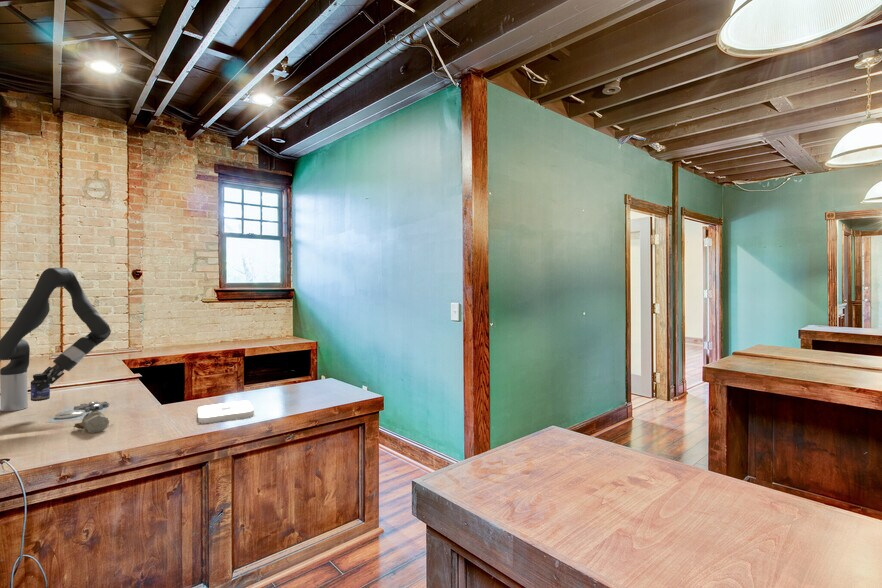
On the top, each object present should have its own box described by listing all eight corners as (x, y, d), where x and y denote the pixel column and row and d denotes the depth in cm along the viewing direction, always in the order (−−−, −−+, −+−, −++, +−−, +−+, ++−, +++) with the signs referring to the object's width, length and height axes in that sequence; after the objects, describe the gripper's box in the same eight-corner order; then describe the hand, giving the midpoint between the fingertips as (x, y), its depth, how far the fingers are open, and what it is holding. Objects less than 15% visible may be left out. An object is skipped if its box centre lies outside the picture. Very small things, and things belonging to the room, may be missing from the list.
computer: (254, 416, 192) (254, 410, 192) (198, 425, 181) (198, 418, 181) (249, 405, 211) (248, 400, 211) (197, 412, 200) (197, 406, 200)
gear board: (65, 411, 200) (65, 408, 200) (110, 407, 208) (110, 404, 208) (45, 426, 179) (45, 422, 179) (96, 420, 186) (96, 417, 186)
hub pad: (59, 414, 191) (59, 411, 191) (88, 411, 196) (88, 408, 196) (51, 420, 182) (51, 417, 182) (81, 417, 187) (81, 414, 187)
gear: (78, 406, 203) (78, 400, 203) (111, 403, 209) (111, 397, 209) (69, 413, 192) (69, 407, 192) (104, 409, 198) (104, 404, 198)
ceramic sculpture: (81, 414, 166) (72, 410, 175) (82, 437, 165) (72, 431, 175) (115, 408, 174) (104, 404, 183) (115, 430, 174) (105, 425, 183)
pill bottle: (38, 401, 182) (37, 376, 182) (26, 401, 183) (26, 375, 183) (53, 398, 188) (53, 373, 188) (42, 397, 189) (42, 372, 189)
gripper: (56, 351, 196) (21, 382, 186) (68, 354, 188) (31, 386, 178) (71, 361, 200) (38, 391, 190) (83, 364, 192) (48, 396, 183)
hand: (35, 389), depth 184 cm, fingers closed on pill bottle, 6 cm apart
